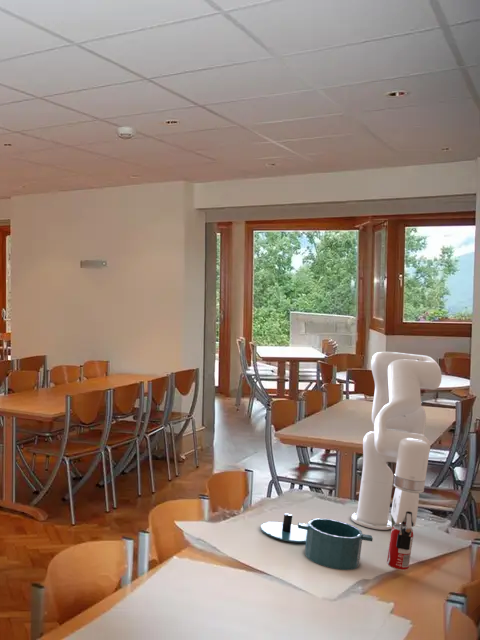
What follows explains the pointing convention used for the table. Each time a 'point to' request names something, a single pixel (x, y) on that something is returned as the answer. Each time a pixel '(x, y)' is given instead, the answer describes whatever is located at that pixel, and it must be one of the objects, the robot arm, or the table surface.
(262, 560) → the table surface
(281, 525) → the lid
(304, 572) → the table surface
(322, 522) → the pot
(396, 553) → the soda can
